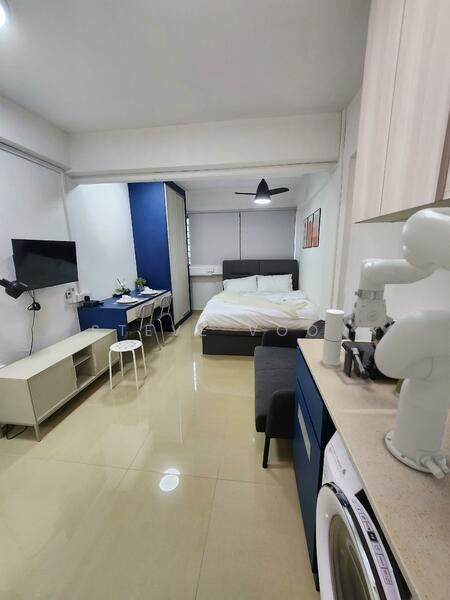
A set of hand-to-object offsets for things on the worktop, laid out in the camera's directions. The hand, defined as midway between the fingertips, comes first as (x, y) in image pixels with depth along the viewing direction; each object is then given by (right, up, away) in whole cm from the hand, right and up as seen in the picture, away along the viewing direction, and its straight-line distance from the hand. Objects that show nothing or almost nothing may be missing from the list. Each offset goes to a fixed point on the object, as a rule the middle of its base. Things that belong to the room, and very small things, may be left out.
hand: (365, 340), depth 88 cm
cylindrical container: (-3, -15, +21) cm, 26 cm away
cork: (+13, -20, -1) cm, 24 cm away
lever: (0, -11, +6) cm, 12 cm away
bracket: (+1, -17, +11) cm, 20 cm away
